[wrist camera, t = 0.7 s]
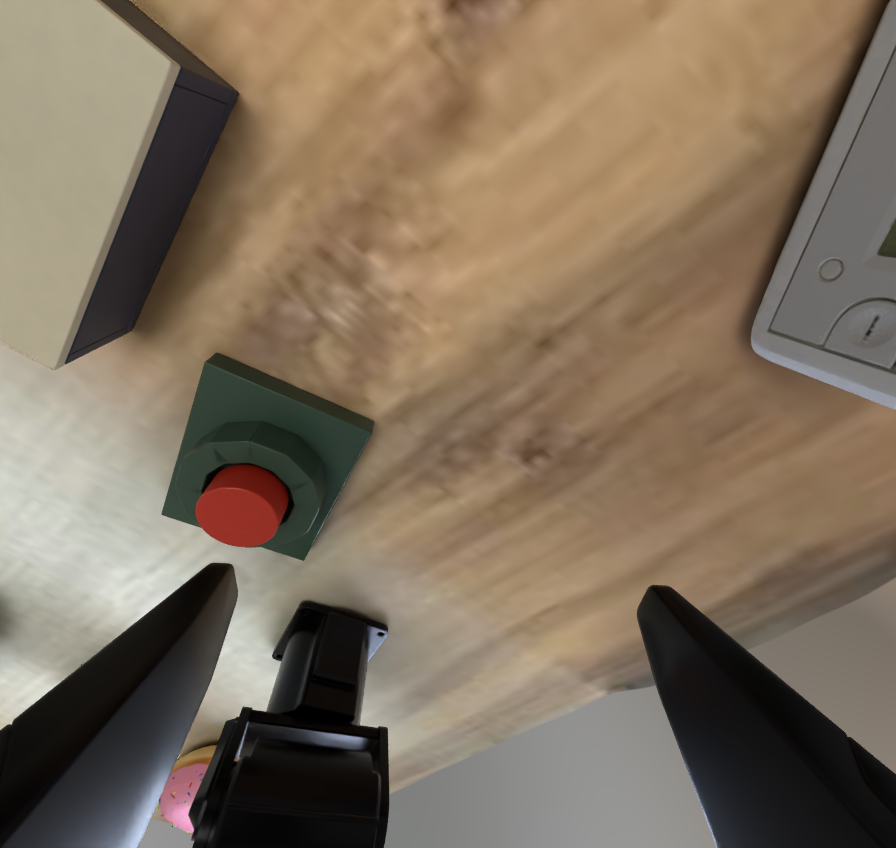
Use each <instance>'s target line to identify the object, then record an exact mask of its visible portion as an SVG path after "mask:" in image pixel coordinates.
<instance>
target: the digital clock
mask: <svg viewBox="0 0 896 848" xmlns="http://www.w3.org/2000/svg"><path fill="white" fill-rule="evenodd" d="M751 345H752V348H753V350H754V351H755V352H756V353H757V354H758V355H760V356H761V357H763V358H765V359H767V360H769V361H771V362H774V363H776V364H778V365H781V366H784V367H786V368H789V369H791V370H794V371H797V372H799V373H802V374H804V375H807V376H809V377H812V378H815V379H817V380H820V381H822V382H825V383H828V384H830V385H833V386H835V387H838V388H840V389H843V390H846V391H848V392H851V393H853V394H856V395H859V396H861V397H864V398H866V399H869V400H871V401H874V402H877V403H879V404H882V405H884V406H887V407H890V408H892V409H895V410H896V0H890V2H889V3H888V4H887V6H886V8H885V10H884V13H883V15H882V17H881V20H880V22H879V24H878V27H877V29H876V31H875V34H874V36H873V38H872V41H871V43H870V46H869V48H868V50H867V53H866V55H865V57H864V60H863V62H862V64H861V67H860V69H859V71H858V74H857V76H856V78H855V81H854V83H853V85H852V88H851V90H850V92H849V95H848V97H847V99H846V102H845V104H844V106H843V109H842V111H841V113H840V116H839V118H838V121H837V123H836V125H835V128H834V130H833V132H832V135H831V137H830V139H829V142H828V144H827V146H826V149H825V151H824V153H823V156H822V158H821V160H820V163H819V165H818V167H817V170H816V172H815V174H814V177H813V179H812V181H811V184H810V186H809V188H808V191H807V193H806V196H805V198H804V200H803V203H802V205H801V207H800V210H799V212H798V214H797V217H796V219H795V221H794V224H793V226H792V228H791V231H790V233H789V235H788V238H787V240H786V242H785V245H784V247H783V249H782V252H781V254H780V256H779V259H778V261H777V263H776V266H775V268H774V273H773V276H772V278H771V280H770V283H769V285H768V288H767V290H766V292H765V295H764V297H763V300H762V302H761V305H760V307H759V310H758V312H757V315H756V317H755V320H754V323H753V326H752V331H751Z"/></svg>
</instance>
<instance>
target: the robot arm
mask: <svg viewBox="0 0 896 848" xmlns="http://www.w3.org/2000/svg"><path fill="white" fill-rule="evenodd" d="M237 597H238V588H237V583H236V577H235V571H234V567H233V565H232V564H229V563H211V564H209V565H207V566H206V567H205V568H203V569H202V570H201V571H200V572H198V573H197V574H196V575H195V576H193V577H192V578H191V579H190V580H188V581H187V582H186V583H185V584H183V585H182V586H181V587H180V588H178V589H177V590H176V591H175V592H173V593H172V594H171V595H170V596H168V597H167V598H166V599H165V600H163V601H162V602H161V603H160V604H158V605H157V606H156V607H155V608H153V609H152V610H151V611H150V612H148V613H147V614H146V615H144V616H143V617H142V618H141V619H139V620H138V621H137V622H136V623H134V624H133V625H132V626H131V627H129V628H128V629H127V630H126V631H124V632H123V633H122V634H121V635H119V636H118V637H117V638H116V639H114V640H113V641H112V642H111V643H109V644H108V645H107V646H106V647H104V648H103V649H102V650H101V651H99V652H98V653H97V654H96V655H94V656H93V657H92V658H91V659H89V660H88V661H87V662H86V663H84V664H83V665H82V666H81V667H79V668H78V669H77V670H76V671H74V672H73V673H72V674H71V675H69V676H68V677H67V678H66V679H64V680H63V681H62V682H61V683H59V684H58V685H57V686H56V687H54V688H53V689H52V690H50V691H49V692H48V693H47V694H45V695H44V696H43V697H42V698H40V699H39V700H38V701H37V702H35V703H34V704H33V705H32V706H30V707H29V708H28V709H27V710H25V711H24V712H23V713H22V714H20V715H19V716H18V717H17V718H15V719H14V721H13V723H12V725H11V724H9V725H6V726H5V727H4V728H3V729H1V730H0V848H138V847H139V844H140V842H141V840H142V837H143V835H144V833H145V830H146V828H147V826H148V824H149V821H150V819H151V817H152V815H153V812H154V810H155V808H156V805H157V803H158V801H159V799H160V796H161V794H162V792H163V790H164V787H165V785H166V783H167V780H168V778H169V776H170V774H171V771H172V769H173V767H174V764H175V762H176V760H177V758H178V755H179V753H180V751H181V748H182V746H183V744H184V742H185V739H186V737H187V735H188V732H189V730H190V728H191V726H192V723H193V721H194V719H195V716H196V714H197V712H198V710H199V707H200V705H201V703H202V700H203V698H204V696H205V694H206V691H207V689H208V686H209V684H210V681H211V679H212V676H213V673H214V670H215V667H216V664H217V661H218V658H219V655H220V652H221V649H222V646H223V642H224V639H225V636H226V633H227V630H228V627H229V624H230V621H231V618H232V614H233V611H234V608H235V605H236V602H237ZM637 619H638V623H639V627H640V630H641V634H642V637H643V641H644V645H645V648H646V652H647V655H648V659H649V663H650V666H651V670H652V673H653V677H654V680H655V684H656V687H657V690H658V693H659V695H660V698H661V701H662V704H663V707H664V709H665V712H666V714H667V717H668V720H669V722H670V725H671V727H672V730H673V733H674V735H675V738H676V741H677V743H678V746H679V749H680V751H681V754H682V757H683V759H684V762H685V764H686V767H687V769H688V772H689V775H690V777H691V780H692V783H693V785H694V788H695V791H696V793H697V796H698V799H699V801H700V804H701V806H702V809H703V812H704V814H705V817H706V820H707V822H708V825H709V827H710V830H711V833H712V835H713V838H714V841H715V843H716V846H717V848H896V774H895V773H893V772H892V771H891V770H890V769H888V768H887V767H886V766H885V765H884V764H882V763H881V762H880V761H879V760H877V759H876V758H875V757H874V756H873V755H871V754H870V753H869V752H868V751H867V750H865V749H864V748H863V747H862V746H861V745H860V744H858V743H857V742H856V741H855V740H854V739H852V738H851V737H847V735H846V733H845V732H844V731H843V730H841V729H840V728H839V727H838V726H837V725H835V724H834V723H833V722H832V721H831V720H829V719H828V718H827V717H826V716H825V715H823V714H822V713H821V712H820V711H819V710H817V709H816V708H815V707H814V706H813V705H811V704H810V703H809V702H808V701H807V700H805V699H804V698H803V697H802V696H801V695H799V694H798V693H797V692H796V691H795V690H794V689H792V688H791V687H790V686H789V685H787V684H786V683H785V682H784V681H783V680H782V679H780V678H779V677H778V676H777V675H776V674H774V673H773V672H772V671H771V670H770V669H768V668H767V667H766V666H765V665H764V664H762V663H761V662H760V661H759V660H758V659H756V658H755V657H754V656H753V655H752V654H750V653H749V652H748V651H747V650H746V649H744V648H743V647H742V646H741V645H740V644H738V643H737V642H736V641H735V640H734V639H732V638H731V637H730V636H729V635H728V634H726V633H725V632H724V631H723V630H722V629H720V628H719V627H718V626H717V625H716V624H715V623H713V622H712V621H711V620H710V619H709V618H707V617H706V616H705V615H704V614H703V613H701V612H700V611H699V610H698V609H697V608H695V607H694V606H693V605H692V604H691V603H689V602H688V601H687V600H686V599H685V598H683V597H682V596H681V595H680V594H679V593H677V592H676V591H675V590H674V589H672V588H671V587H669V586H664V585H651V586H650V587H648V589H647V591H646V593H645V595H644V597H643V599H642V601H641V603H640V604H639V606H638V610H637ZM387 635H388V627H387V626H385V625H383V624H379V623H376V622H372V621H369V620H366V619H362V618H359V617H356V616H352V615H349V614H346V613H342V612H339V611H335V610H332V609H329V608H325V607H322V606H319V605H315V604H312V603H308V602H303V603H301V604H300V605H299V606H298V608H297V610H296V612H295V613H294V615H293V617H292V619H291V621H290V622H289V624H288V626H287V628H286V629H285V631H284V633H283V635H282V636H281V638H280V640H279V642H278V644H277V645H276V647H275V649H274V652H273V655H272V657H273V658H274V659H276V660H279V661H282V662H281V665H280V668H279V672H278V675H277V678H276V681H275V685H274V688H273V691H272V694H271V698H270V701H269V704H268V707H267V711H266V712H264V711H257V710H252V708H250V707H243V708H242V710H241V713H240V716H239V717H236V718H235V719H231V720H228V721H226V723H225V725H224V728H223V731H222V733H221V736H220V739H219V741H218V744H217V747H216V749H215V752H214V754H213V757H212V759H211V761H210V764H209V766H208V768H207V770H206V773H205V775H204V777H203V779H202V782H201V784H200V786H199V788H198V791H197V793H196V795H195V798H194V800H193V802H192V805H191V808H190V811H189V814H188V816H189V819H190V821H191V824H192V826H193V829H194V832H193V835H192V839H191V840H193V841H194V844H193V848H384V844H385V838H386V832H387V823H388V814H389V765H388V728H387V727H380V726H379V727H378V728H375V727H368V726H361V725H360V719H361V711H362V703H363V695H364V687H365V680H366V672H367V664H368V661H369V660H370V658H371V657H372V656H373V654H374V653H375V652H376V650H377V649H378V648H379V646H380V645H381V644H382V642H383V641H384V640H385V638H386V637H387ZM238 758H240V759H239V760H238V762H237V759H238Z"/></svg>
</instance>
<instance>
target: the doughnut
mask: <svg viewBox="0 0 896 848" xmlns="http://www.w3.org/2000/svg"><path fill="white" fill-rule="evenodd" d="M216 747H217V745H213V746H207V747H203V748H200V749H197V750H194V751H192V752H190V753H188V754H186V755H185V756H183V757H182V758H181V759H179V760H178V761H177V762H176V763H175V764H174V767H173V769H172V771H171V774H170V776H169V778H168V780H167V783H166V785H165V787H164V790H163V792H162V794H161V796H160V799H159V806H158V809H159V808H160V810H161V812H162V814H163V815H161V816H164V817H165V819H166V820H167V821H168V822H170V823H171V825H172V827H173V825H174V826H176V827H178V828H180V829H182V830H185V832H188V833H190V832H191V833H193V832H194V829H193V826H192V824H191V821H190V819H189V816H188V814H189V811H190V808H191V805H192V802H193V800H194V798H195V795H196V793H197V791H198V788H199V786H200V784H201V782H202V779H203V777H204V775H205V773H206V770H207V768H208V766H209V764H210V761H211V759H212V757H213V754H214V752H215V749H216ZM239 759H240V758H238V759H237V762H238V760H239Z"/></svg>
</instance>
